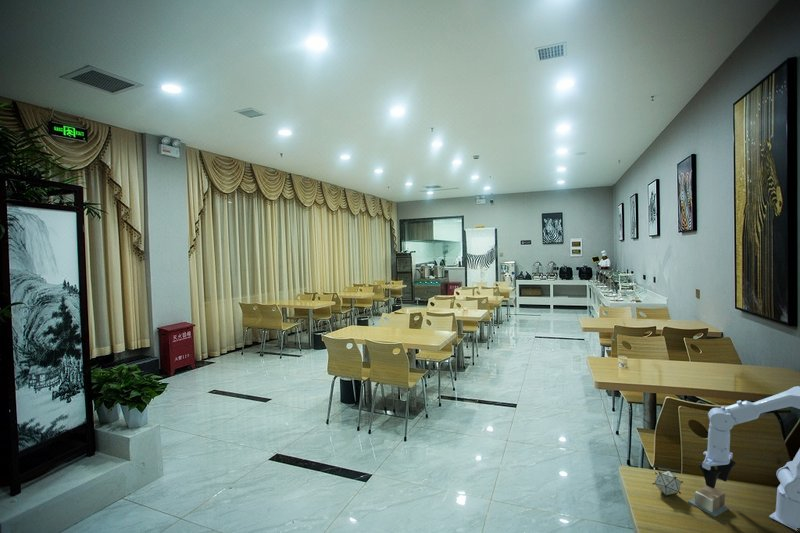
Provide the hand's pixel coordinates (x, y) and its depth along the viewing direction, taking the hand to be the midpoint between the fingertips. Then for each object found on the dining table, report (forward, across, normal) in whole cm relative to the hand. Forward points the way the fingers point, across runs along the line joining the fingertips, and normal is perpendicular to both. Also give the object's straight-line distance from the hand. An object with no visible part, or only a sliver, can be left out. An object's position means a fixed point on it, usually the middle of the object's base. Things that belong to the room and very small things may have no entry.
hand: (716, 483), depth 135 cm
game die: (+7, +10, -10) cm, 16 cm away
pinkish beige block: (+4, 0, 0) cm, 4 cm away
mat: (+6, +4, 0) cm, 8 cm away
